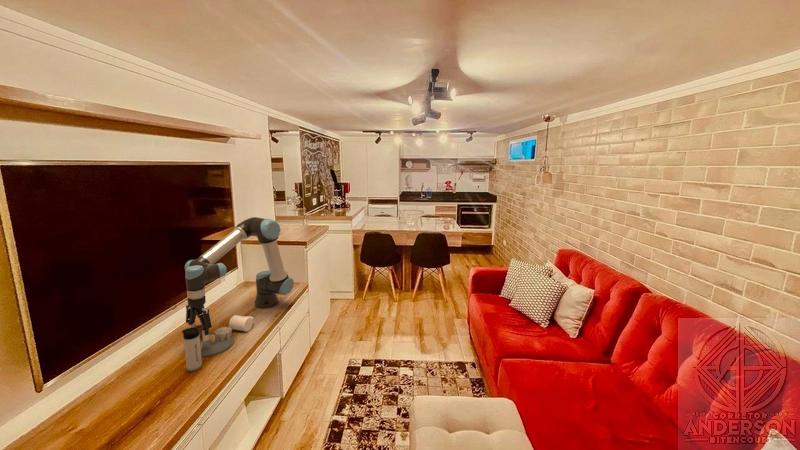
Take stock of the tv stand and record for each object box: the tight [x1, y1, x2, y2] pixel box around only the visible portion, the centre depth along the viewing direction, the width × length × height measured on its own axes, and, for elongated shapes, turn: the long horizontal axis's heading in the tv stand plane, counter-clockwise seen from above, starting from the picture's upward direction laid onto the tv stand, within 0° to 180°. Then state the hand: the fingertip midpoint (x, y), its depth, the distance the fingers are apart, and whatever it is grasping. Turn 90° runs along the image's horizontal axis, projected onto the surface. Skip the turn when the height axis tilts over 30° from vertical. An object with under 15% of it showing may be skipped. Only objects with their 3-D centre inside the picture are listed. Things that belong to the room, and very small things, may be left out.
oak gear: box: [194, 324, 203, 342], centre depth 163 cm, size 8×8×6 cm
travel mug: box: [181, 327, 203, 372], centre depth 152 cm, size 6×7×20 cm
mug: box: [228, 314, 254, 333], centre depth 190 cm, size 12×10×8 cm
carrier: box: [200, 326, 235, 358], centre depth 172 cm, size 21×20×6 cm
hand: (199, 338), depth 164 cm, fingers closed on oak gear, 8 cm apart
